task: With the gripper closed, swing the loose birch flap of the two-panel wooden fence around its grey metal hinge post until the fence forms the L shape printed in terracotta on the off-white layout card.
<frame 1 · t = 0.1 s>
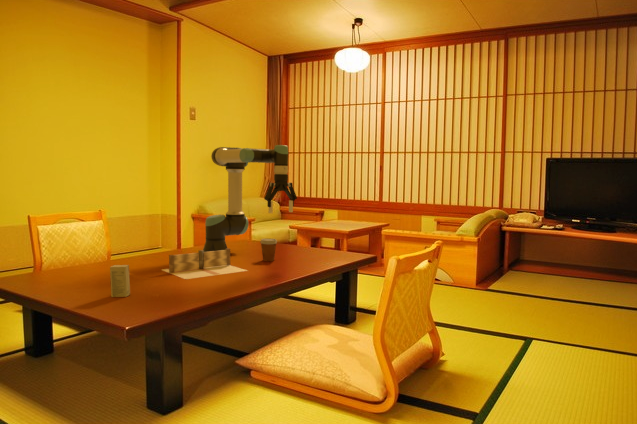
hand: (280, 212, 274), 28 cm above the table, fingers open, 13 cm apart
fence fixed: (200, 268, 255), resting on layout card
disposable coffee cup: (268, 260, 284), on the table
layout card: (204, 270, 252), on the table
fence flap: (216, 258, 260), point 5 cm above the table, hinge at 0.0°
skincare box: (120, 296, 200), on the table
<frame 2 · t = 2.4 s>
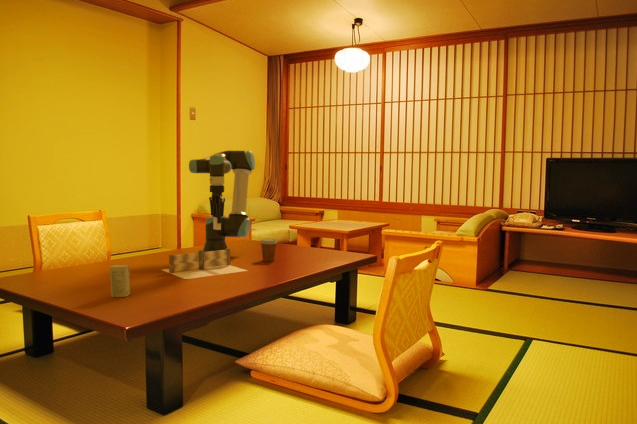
hand: (217, 229, 265), 19 cm above the table, fingers closed
nothing on the table moved.
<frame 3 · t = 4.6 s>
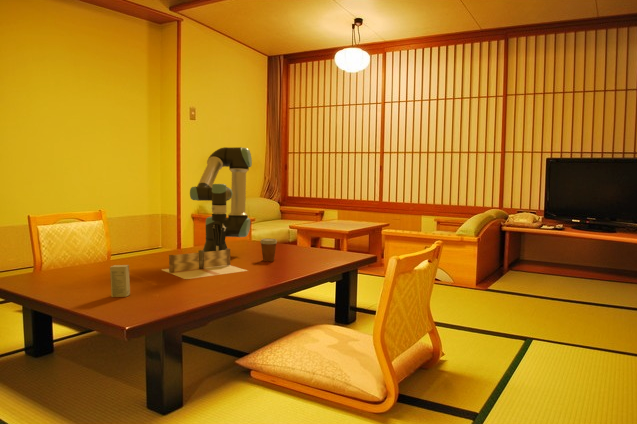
hand: (219, 257, 264), 5 cm above the table, fingers closed
fence flap: (216, 258, 260), point 5 cm above the table, hinge at 0.4°, touching gripper
everything else where it was.
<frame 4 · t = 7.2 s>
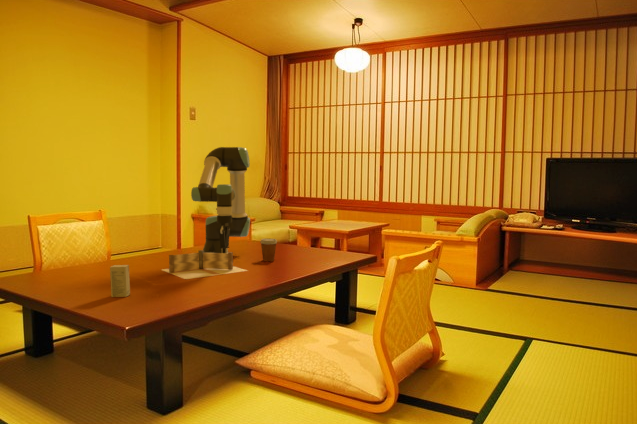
hand: (224, 260, 256), 5 cm above the table, fingers closed
fence flap: (217, 260, 254), point 5 cm above the table, hinge at 48.0°, touching gripper
everything else where it was.
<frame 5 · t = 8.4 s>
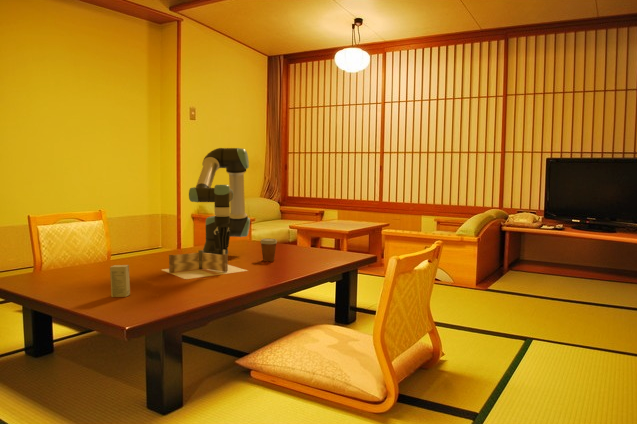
hand: (222, 262, 252), 5 cm above the table, fingers closed
fence flap: (214, 261, 250), point 5 cm above the table, hinge at 68.9°, touching gripper
everything else where it was.
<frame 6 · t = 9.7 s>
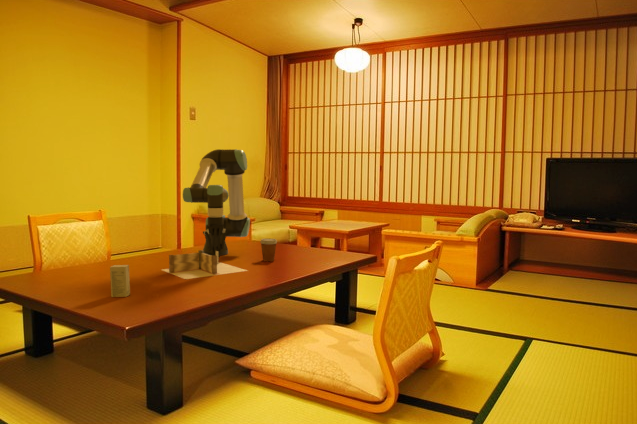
hand: (215, 263, 247), 5 cm above the table, fingers closed
fence flap: (208, 262, 248), point 5 cm above the table, hinge at 92.7°, touching gripper
everything else where it was.
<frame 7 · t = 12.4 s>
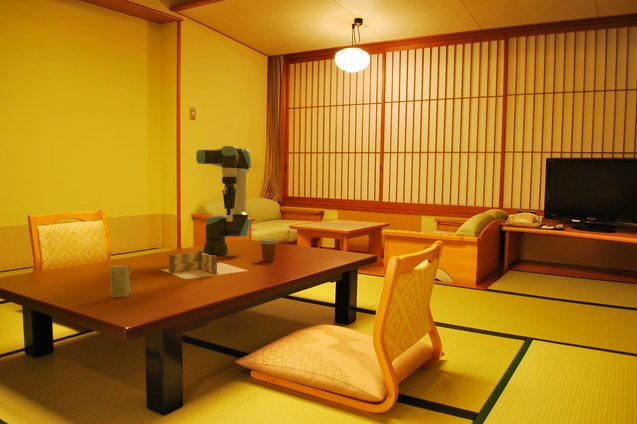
hand: (229, 221, 263), 24 cm above the table, fingers closed
fence flap: (208, 262, 248), point 5 cm above the table, hinge at 92.8°
everything else where it was.
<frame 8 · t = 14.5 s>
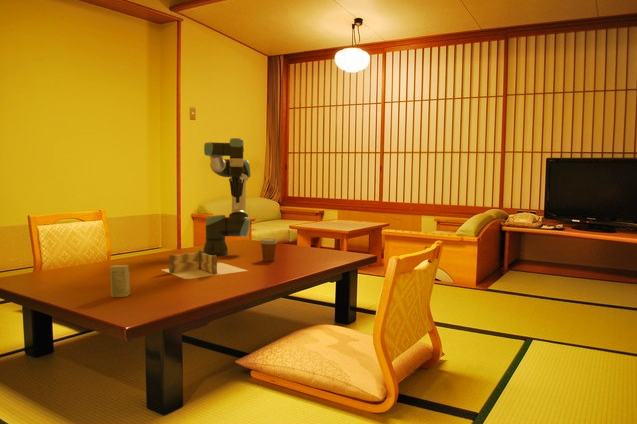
hand: (236, 208, 280), 29 cm above the table, fingers closed
nothing on the table moved.
at the end: fence flap at +93° (first picture: +0°) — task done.
